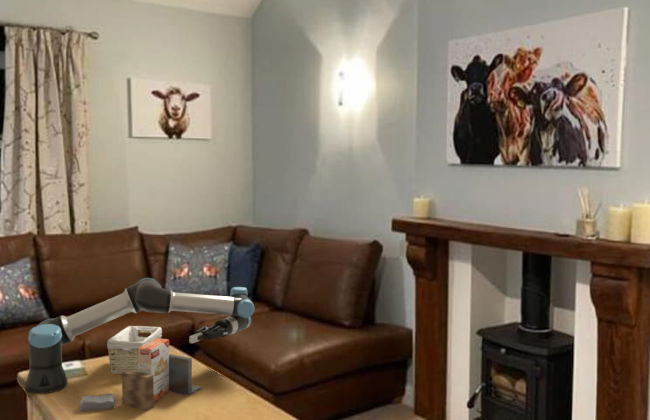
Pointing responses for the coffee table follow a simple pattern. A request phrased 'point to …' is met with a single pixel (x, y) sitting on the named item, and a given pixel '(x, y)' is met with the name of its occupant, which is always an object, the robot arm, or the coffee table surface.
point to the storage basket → (129, 347)
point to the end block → (137, 390)
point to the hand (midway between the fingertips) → (190, 339)
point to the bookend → (181, 375)
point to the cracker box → (156, 365)
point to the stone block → (97, 402)
